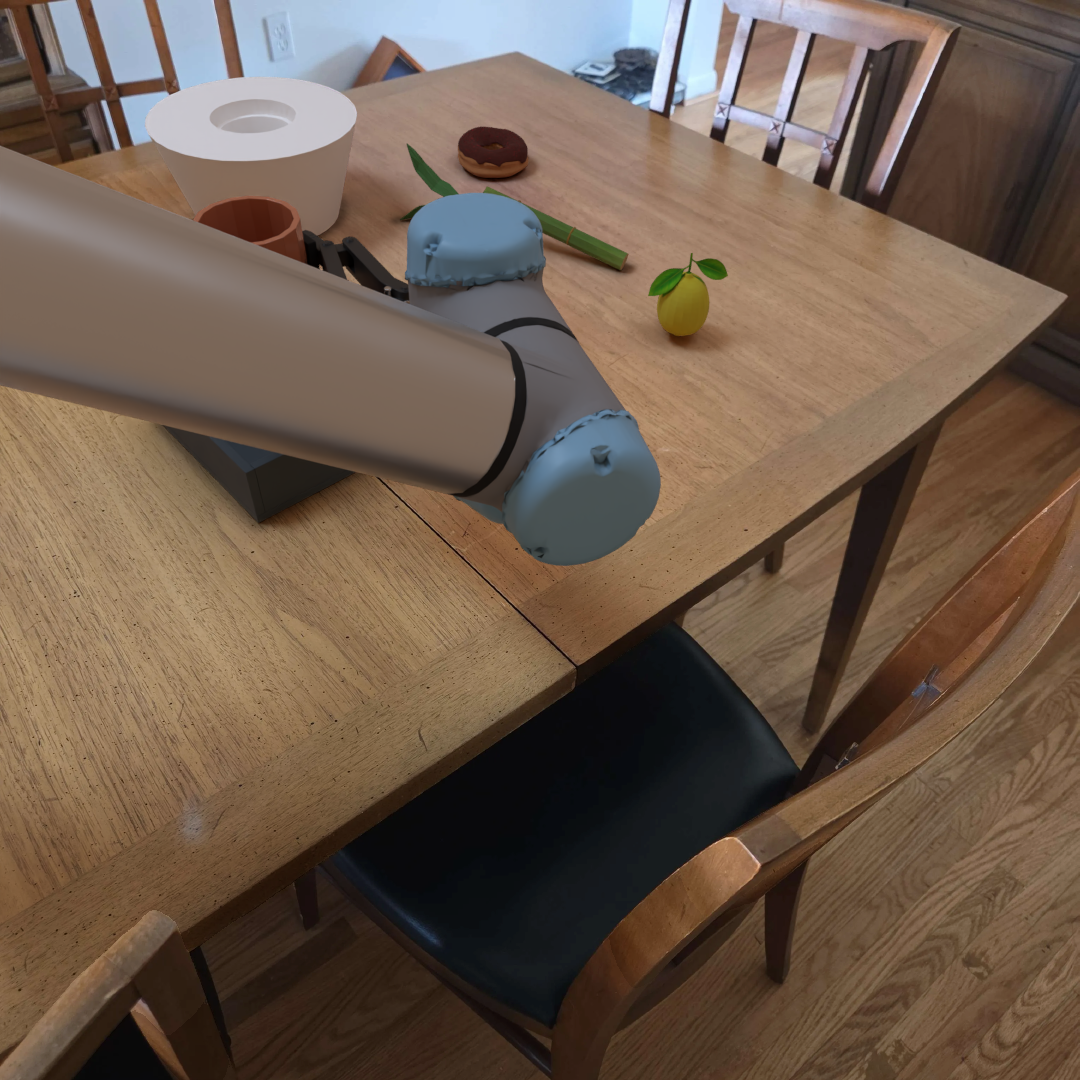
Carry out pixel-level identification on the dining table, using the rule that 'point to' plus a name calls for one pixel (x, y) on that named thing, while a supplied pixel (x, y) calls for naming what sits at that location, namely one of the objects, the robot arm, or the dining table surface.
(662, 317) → the lemon
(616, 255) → the decorative plant
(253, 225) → the cup
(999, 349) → the dining table surface
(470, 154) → the donut
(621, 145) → the dining table surface
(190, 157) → the white tapered round pot
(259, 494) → the bin
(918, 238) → the dining table surface
